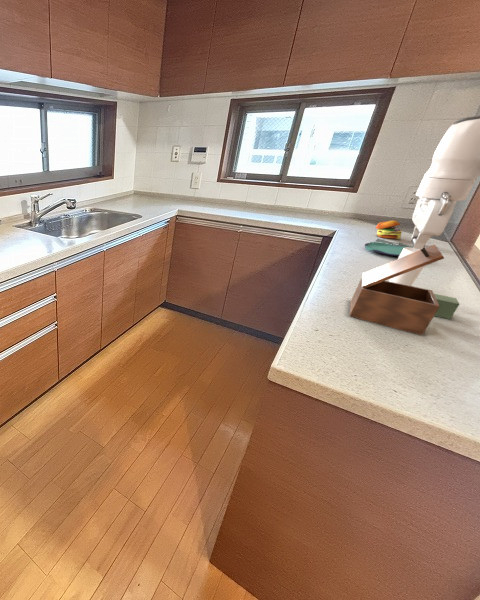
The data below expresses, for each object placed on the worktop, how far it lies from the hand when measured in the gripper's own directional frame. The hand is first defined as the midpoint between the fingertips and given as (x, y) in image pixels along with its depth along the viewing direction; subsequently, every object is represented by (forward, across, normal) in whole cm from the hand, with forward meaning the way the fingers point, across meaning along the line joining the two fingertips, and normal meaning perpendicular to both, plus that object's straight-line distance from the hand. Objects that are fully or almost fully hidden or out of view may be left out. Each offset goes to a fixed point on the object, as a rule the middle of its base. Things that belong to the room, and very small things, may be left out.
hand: (415, 245), depth 85 cm
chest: (+21, 0, 0) cm, 21 cm away
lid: (+7, 0, +1) cm, 7 cm away
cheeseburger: (+22, +118, -6) cm, 120 cm away
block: (+22, +14, -14) cm, 29 cm away
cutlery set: (+22, +87, -6) cm, 90 cm away
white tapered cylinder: (+22, +25, -4) cm, 33 cm away
